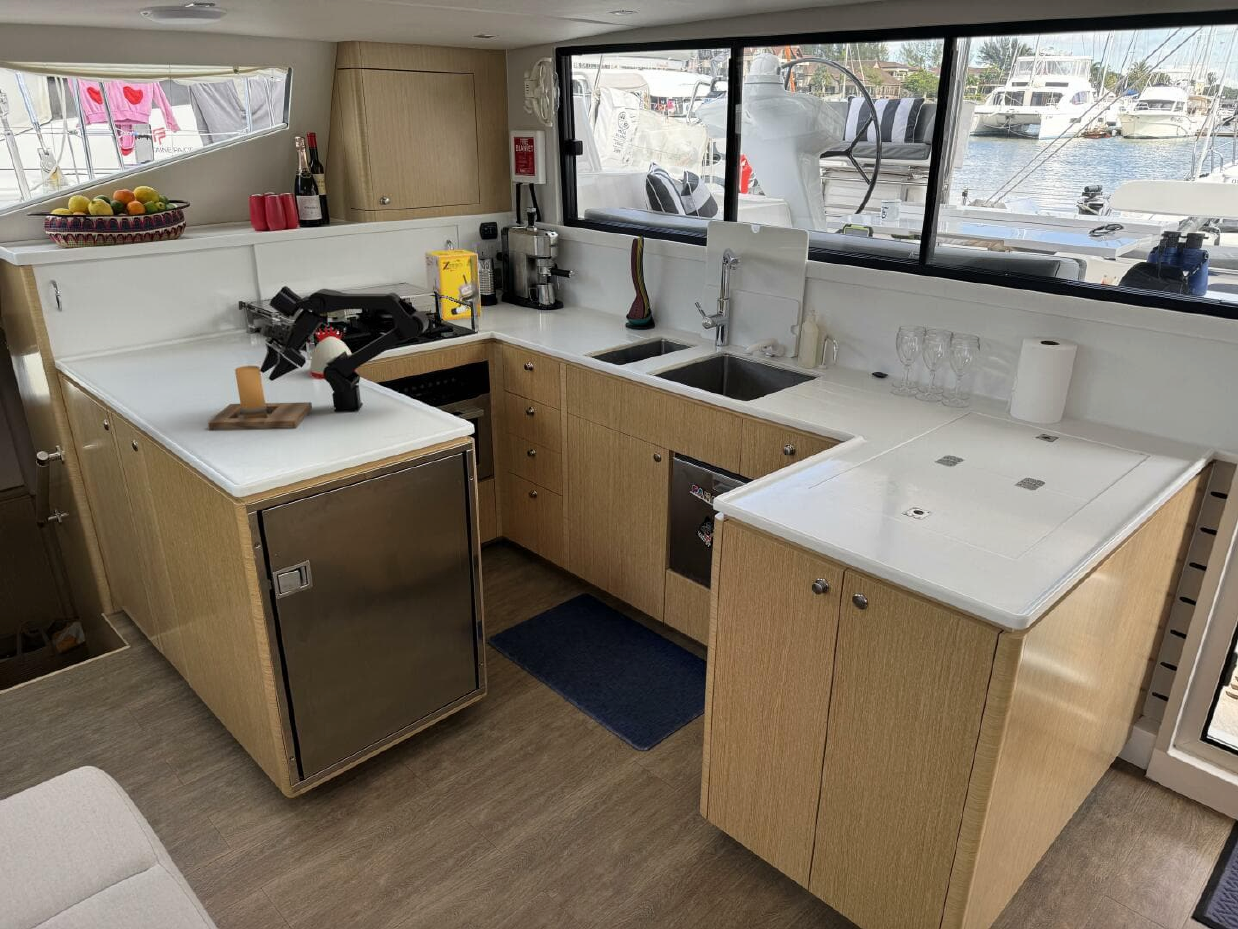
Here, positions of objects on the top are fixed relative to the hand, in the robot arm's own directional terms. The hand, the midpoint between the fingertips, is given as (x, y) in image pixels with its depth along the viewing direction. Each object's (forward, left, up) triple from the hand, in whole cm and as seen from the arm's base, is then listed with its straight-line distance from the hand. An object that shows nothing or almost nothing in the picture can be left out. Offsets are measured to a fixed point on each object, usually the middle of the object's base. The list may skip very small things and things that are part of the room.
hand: (265, 375), depth 232 cm
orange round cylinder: (+4, +2, -11) cm, 12 cm away
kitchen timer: (-6, -44, -12) cm, 46 cm away
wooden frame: (+2, +2, -11) cm, 12 cm away
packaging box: (-34, -130, -12) cm, 135 cm away
